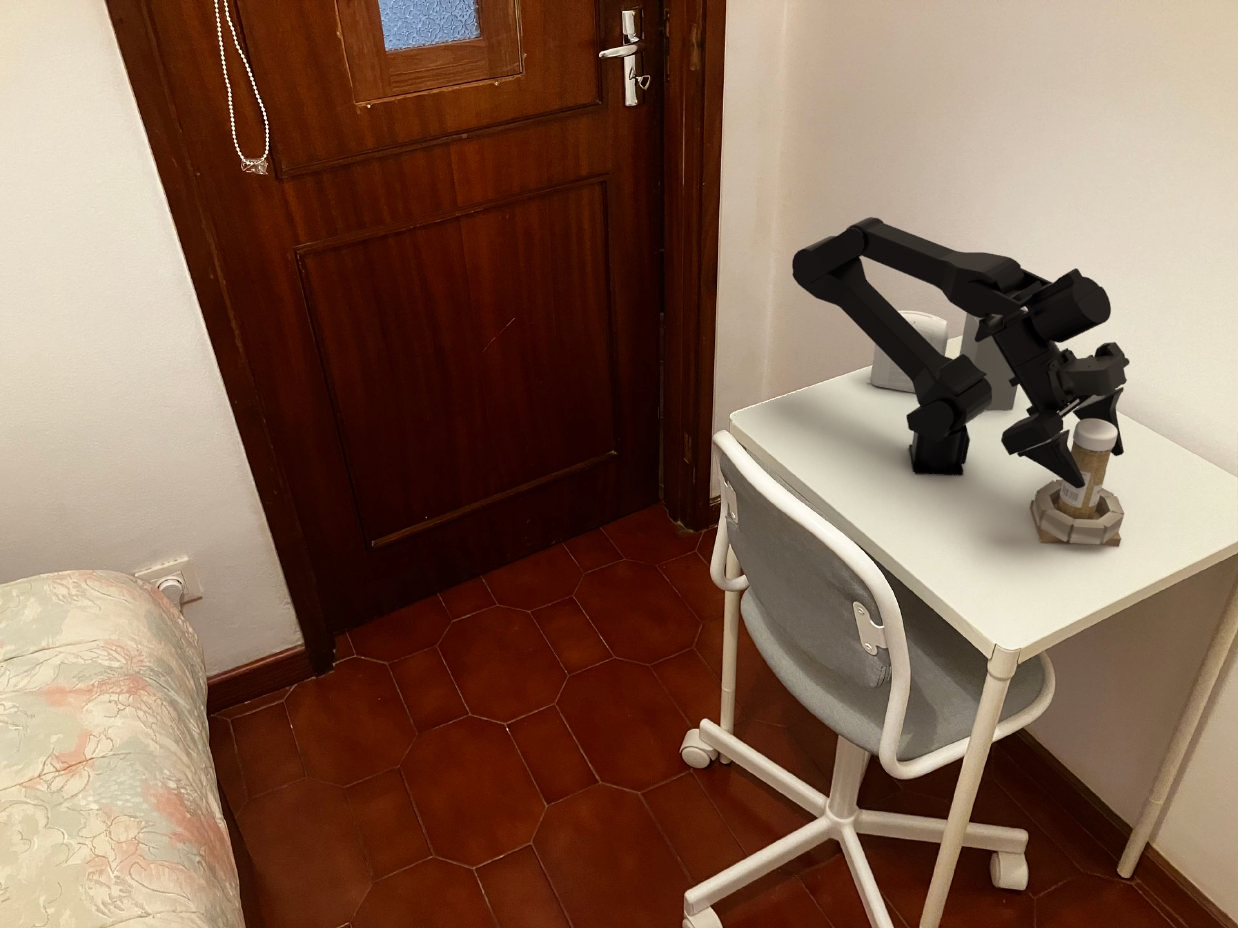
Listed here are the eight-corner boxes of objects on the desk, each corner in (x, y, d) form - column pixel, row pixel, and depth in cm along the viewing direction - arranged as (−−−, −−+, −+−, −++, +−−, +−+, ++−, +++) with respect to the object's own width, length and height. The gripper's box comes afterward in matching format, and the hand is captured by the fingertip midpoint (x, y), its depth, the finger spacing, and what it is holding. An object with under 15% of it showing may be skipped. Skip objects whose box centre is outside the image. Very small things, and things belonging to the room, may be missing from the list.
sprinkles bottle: (1100, 527, 124) (1126, 435, 116) (1064, 532, 123) (1089, 439, 116) (1080, 505, 127) (1105, 414, 120) (1046, 510, 127) (1068, 419, 119)
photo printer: (941, 384, 155) (953, 311, 148) (937, 398, 152) (949, 324, 144) (872, 374, 158) (881, 302, 151) (867, 387, 155) (876, 314, 148)
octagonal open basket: (1041, 549, 123) (1047, 525, 121) (1025, 501, 130) (1031, 478, 128) (1124, 553, 122) (1131, 529, 119) (1103, 504, 129) (1110, 481, 127)
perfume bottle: (1012, 409, 148) (1036, 297, 138) (965, 411, 148) (986, 299, 138) (998, 386, 154) (1021, 276, 143) (953, 387, 154) (972, 278, 144)
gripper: (1046, 359, 109) (1122, 485, 108) (1129, 302, 118) (1199, 417, 118) (969, 395, 118) (1038, 511, 118) (1052, 339, 128) (1116, 446, 127)
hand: (1101, 470), depth 120 cm, fingers open, 9 cm apart
